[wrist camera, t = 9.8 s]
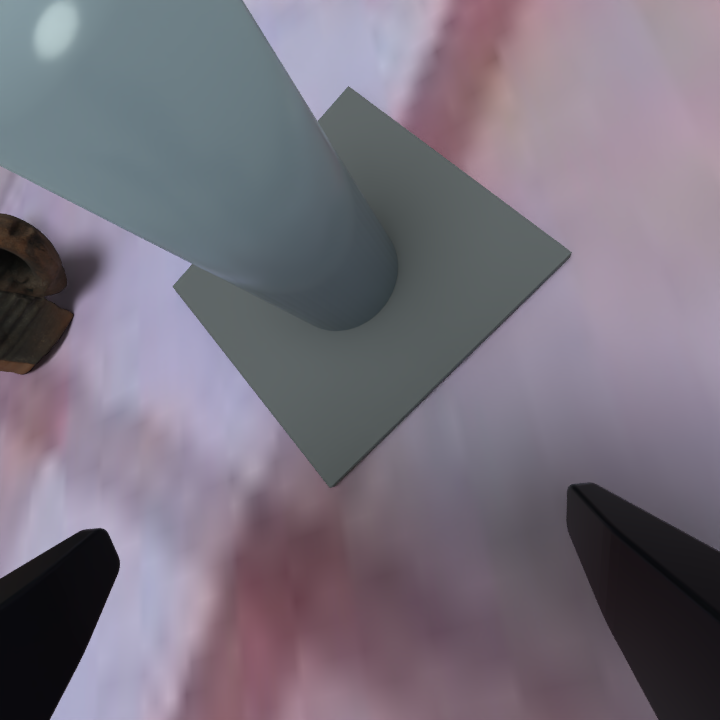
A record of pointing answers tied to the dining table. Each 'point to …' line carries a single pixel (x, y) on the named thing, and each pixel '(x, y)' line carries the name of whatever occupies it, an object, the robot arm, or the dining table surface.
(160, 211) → the tumbler
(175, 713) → the dining table surface
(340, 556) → the dining table surface
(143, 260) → the dining table surface
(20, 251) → the brown black curved piece
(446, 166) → the coaster mat
